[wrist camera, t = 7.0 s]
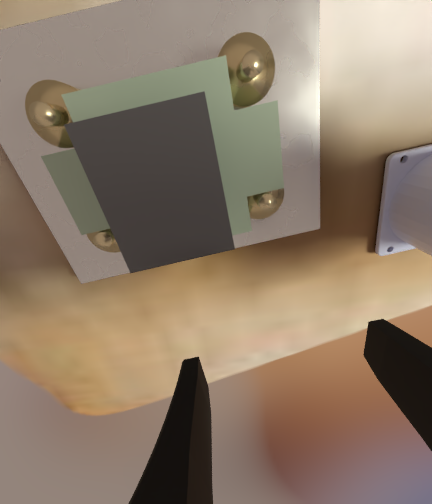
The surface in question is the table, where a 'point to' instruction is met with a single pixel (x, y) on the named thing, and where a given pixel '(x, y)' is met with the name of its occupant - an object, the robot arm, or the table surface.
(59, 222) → the plate
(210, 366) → the table surface
